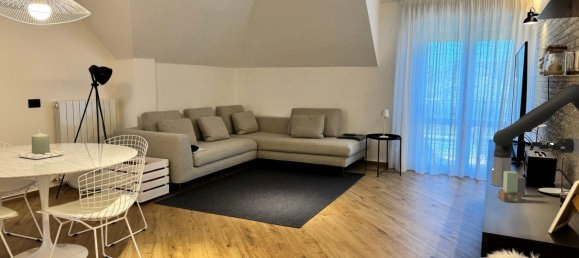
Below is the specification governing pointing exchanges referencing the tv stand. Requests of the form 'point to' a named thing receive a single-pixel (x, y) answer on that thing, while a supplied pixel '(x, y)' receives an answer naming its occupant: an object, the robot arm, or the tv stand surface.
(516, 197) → the brown box
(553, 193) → the tv stand surface
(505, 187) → the sage green block
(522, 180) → the charcoal block
